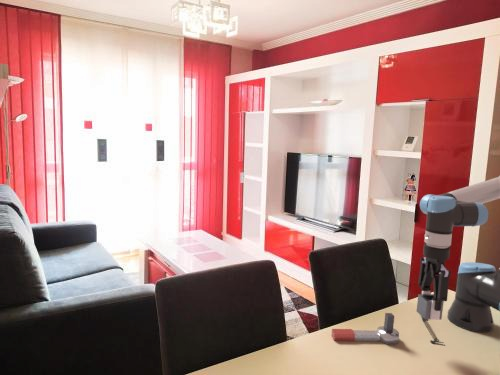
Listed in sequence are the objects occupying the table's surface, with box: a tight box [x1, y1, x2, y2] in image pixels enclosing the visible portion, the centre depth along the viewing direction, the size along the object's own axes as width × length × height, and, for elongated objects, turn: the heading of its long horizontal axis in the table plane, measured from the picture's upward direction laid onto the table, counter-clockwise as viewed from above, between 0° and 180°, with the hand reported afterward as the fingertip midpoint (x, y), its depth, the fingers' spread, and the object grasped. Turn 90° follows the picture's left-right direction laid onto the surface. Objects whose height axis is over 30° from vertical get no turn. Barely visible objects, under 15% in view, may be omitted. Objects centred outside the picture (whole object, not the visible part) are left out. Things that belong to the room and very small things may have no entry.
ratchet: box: [330, 312, 400, 345], centre depth 127 cm, size 22×7×9 cm, turn 93°
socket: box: [416, 293, 445, 320], centre depth 121 cm, size 5×5×6 cm
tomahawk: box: [420, 315, 446, 347], centre depth 135 cm, size 21×7×1 cm, turn 166°
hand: (429, 314), depth 121 cm, fingers closed on socket, 5 cm apart
